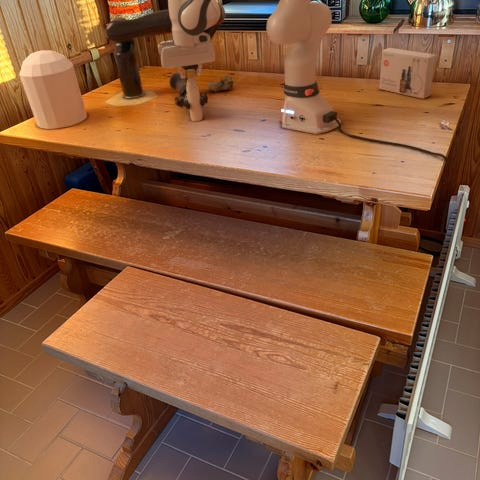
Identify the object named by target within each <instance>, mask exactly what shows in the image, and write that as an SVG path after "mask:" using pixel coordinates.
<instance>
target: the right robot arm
mask: <svg viewBox="0 0 480 480" xmlns="http://www.w3.org/2000/svg"><path fill="white" fill-rule="evenodd" d="M218 3H219V2H218V1H217V0H167V5H168V7H167V8H168V9H169V15H170V19H171V21H172V33H171V34H172V39H169V40H163V41H161V42H160V43H159V44H157V51H158V54H159V55H160V63H161V67H162V68H163V69H164V70H168V69H174V68H176V70H177V73H180V75H181V79H185V76H186V75H185V72H182V71H181V70H182V66H189V65H195V64H198V68H197V71H196V77H201V71H202V69H203V64H207V63H213V62H215V61H216V58H217V57H216V52H215V51H216V50H215V47H214V44H213V43H212V41H210V36H209V35H208V34H207V33H204V32H203V31H204V30H206V29H208V28H210V27H211V26H213V25H215V24H216V23H217V22H218V21H219V19H220V15H221V10H220V6H219V4H220V3H219V4H218ZM332 21H333V18H332V11H331V9H330V7H329V6H328V5H327V4H325V3H323V2H316V1H315V2H313V1H311V0H279V1H278V4H277V5H276V7H275V9H274V11H273V12H272V13H271V15H270V16H269V17H268V19H267V22H266V35H267V37H268V39H269V40H270V42H271V43H272V44H274V45H276V46H292V47H291V49H290V51H289V53H288V54H287V55H286V57H285V59H284V62H283V67H284V68H283V69H284V82H283V89H282V90H283V94H284V103H283V108H282V109H281V113H282V116H281V120H280V121H281V128H282V129H288V130H292V131H298V132H303V133H309V134H313V135H314V134H315V135H319V134H324V133H328V132H331V131H332V130H335V129H337V128H338V131H339V132H340V133H341V134H343V135H345V136H347V137H349V138H355V139H359V140H364V141H368V142H373V143H374V142H375V143H378V144H379V143H380V144H385V145H393V146H398V147H403V148H408V149H412V150H416V151H419V152H422V153H426V154H428V155H432V156H439V157H441V158H442V159H443V160H444V161H445V163H450V160H449V159H448V157H447V156H446V155H444V154H443V153H440V152H434V151H430V150H427V149H425V148H420V147H418V146H413V145H409V144H405V143H404V144H403V143H400V142H399V143H398V142H393V141H385V140H381V139H376V138H375V139H374V138H368V137H364V136H359V135H355V134H348V133H345V132H344V131H343V130H342V127H341V126H342V125H341V124H342V120H341V119H340V118H338V111H335V110H334V109H335V108H334V106H333V105H332V104H331V103H330V102H329V101H328V100H327V99H326V98H325V97H324V96H323V95H322V94H321V93H320V90H321V89H322V86H323V85H322V84H320V85H319V84H318V81H317V59H318V54H319V51H320V48H321V44H322V41H323V38H324V37H325V35H326V33H327V32H328V31H329V29H330V27H331V25H332ZM449 201H450V200H448V201H446V202H445V206H444V211H443V215H442V221H441V225H440V235H443V233H444V228H445V223H446V217H447V213H448V208H449V203H450V202H449Z"/></svg>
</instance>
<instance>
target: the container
mask: <svg viewBox="0 0 480 480" xmlns="http://www.w3.org/2000/svg"><path fill="white" fill-rule="evenodd" d="M75 70H76V69H75V67H74V63H73V62H72V61H71V60H69V58H68V57H67V56H66V55H65V54H62V53H61V52H58V51H55V50H50V49H49V50H46V49H45V50H43V49H41V50H38V51H34V52H32V53H30V54H29V55H28V56H26V58H25V59H24V60H23V61H22V63H21V67H20V70H19V78H20V81H21V84H22V87H23V89H24V92H25V95H26V98H27V100H28V104H29V106H30V109H31V112H32V115H33V118H34V120H35V123H36V126H37V127H39V128H41V129H46V130H51V129H53V130H54V129H63V128H67V127H70V126H74V125H77V124H79V123H81V122H83V121H84V120H86V118H87V117H88V112H87V110H86V106H85V103H84V100H83V96H82V93H81V88H80V84H79V81H78V78H77V74H76V71H75Z"/></svg>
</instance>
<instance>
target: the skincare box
mask: <svg viewBox="0 0 480 480" xmlns="http://www.w3.org/2000/svg"><path fill="white" fill-rule="evenodd" d="M436 57H437V54H435V53H427V52H423V51H422V52H420V51H413V50H407V49H400V48H395V47H394V48H393V47H387V48H385V49H382V50H381V61H380V74H379V86H378V87H379V88H378V89H379V90H383V91H387V92H391V93H395V94H399V95H405V96H409V97H414V98H418V99H422V100H424V99H426V98H428V97H430V96H431V91H432V86H433V85H432V84H433V78H434V73H435V72H434V71H435V70H434V69H435V64H436Z"/></svg>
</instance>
